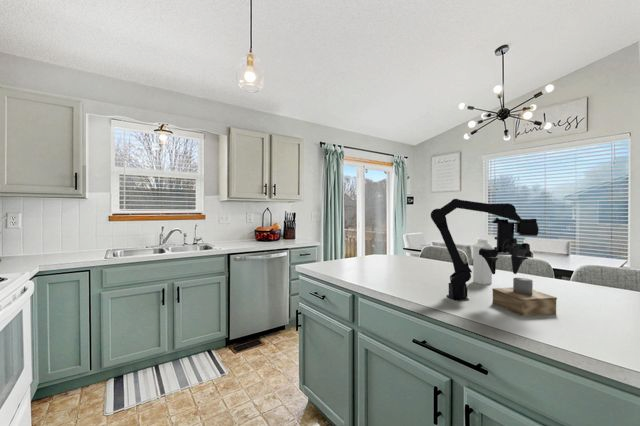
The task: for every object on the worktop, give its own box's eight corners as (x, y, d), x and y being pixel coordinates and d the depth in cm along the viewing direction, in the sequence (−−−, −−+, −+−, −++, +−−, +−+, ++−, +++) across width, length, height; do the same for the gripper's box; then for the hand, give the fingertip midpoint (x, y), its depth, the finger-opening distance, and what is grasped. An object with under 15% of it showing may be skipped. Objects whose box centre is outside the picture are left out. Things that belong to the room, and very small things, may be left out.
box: (521, 315, 103) (521, 301, 103) (492, 303, 117) (492, 290, 117) (556, 313, 105) (556, 299, 105) (524, 301, 119) (524, 289, 119)
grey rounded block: (522, 295, 108) (522, 281, 108) (509, 290, 114) (509, 277, 114) (536, 294, 109) (536, 281, 109) (523, 290, 115) (523, 277, 115)
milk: (482, 284, 146) (482, 240, 145) (472, 281, 152) (472, 239, 151) (492, 283, 147) (492, 240, 147) (482, 280, 153) (482, 238, 153)
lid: (521, 301, 103) (521, 299, 103) (492, 290, 117) (492, 288, 117) (556, 299, 105) (556, 297, 105) (523, 288, 119) (523, 286, 119)
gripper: (498, 237, 108) (497, 279, 108) (544, 237, 110) (543, 278, 110) (478, 234, 119) (477, 272, 119) (520, 234, 121) (519, 272, 121)
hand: (504, 274), depth 117 cm, fingers open, 9 cm apart
